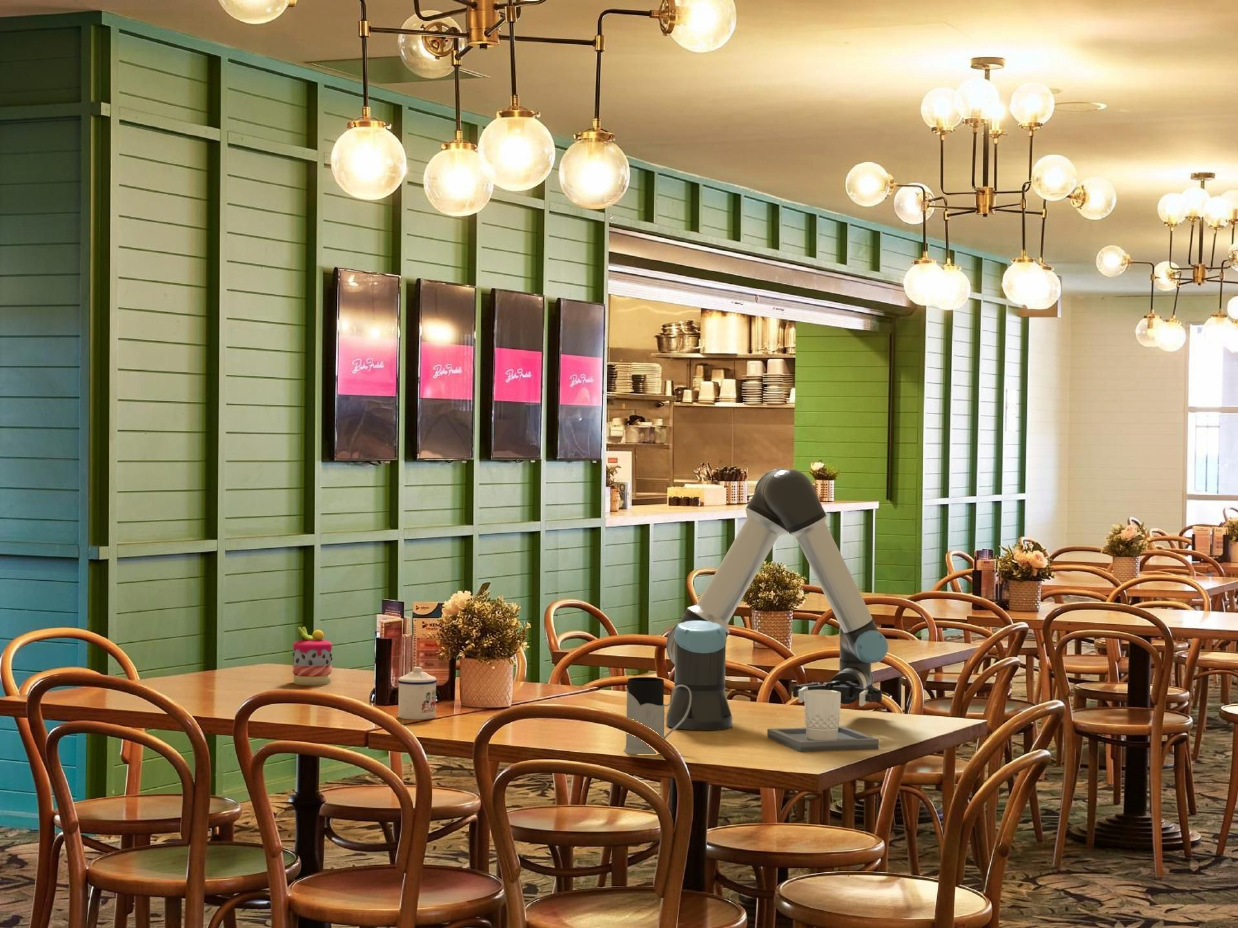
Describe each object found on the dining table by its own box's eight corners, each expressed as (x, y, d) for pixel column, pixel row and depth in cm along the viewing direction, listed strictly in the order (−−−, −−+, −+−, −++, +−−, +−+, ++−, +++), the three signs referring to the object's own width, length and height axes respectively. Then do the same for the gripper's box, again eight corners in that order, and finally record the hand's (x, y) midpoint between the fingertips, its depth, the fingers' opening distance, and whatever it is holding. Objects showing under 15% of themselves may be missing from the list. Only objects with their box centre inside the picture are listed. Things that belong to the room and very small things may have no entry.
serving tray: (800, 751, 331) (800, 742, 331) (767, 737, 349) (767, 728, 349) (878, 748, 337) (878, 739, 337) (842, 734, 354) (842, 725, 354)
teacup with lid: (428, 720, 366) (429, 670, 366) (391, 718, 368) (392, 668, 368) (446, 713, 377) (447, 664, 377) (410, 711, 379) (411, 662, 379)
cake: (332, 680, 434) (333, 625, 434) (330, 685, 424) (331, 629, 424) (293, 680, 433) (294, 625, 433) (290, 685, 423) (291, 629, 423)
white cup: (839, 742, 338) (839, 695, 338) (801, 740, 340) (802, 693, 340) (841, 736, 346) (842, 690, 346) (805, 734, 347) (805, 688, 347)
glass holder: (619, 748, 332) (620, 676, 332) (685, 746, 336) (686, 675, 336) (629, 755, 324) (630, 682, 324) (696, 754, 327) (697, 681, 327)
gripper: (901, 705, 367) (886, 718, 347) (795, 699, 375) (774, 711, 355) (901, 673, 368) (887, 684, 347) (795, 667, 375) (775, 678, 355)
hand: (830, 698), depth 351 cm, fingers open, 13 cm apart
